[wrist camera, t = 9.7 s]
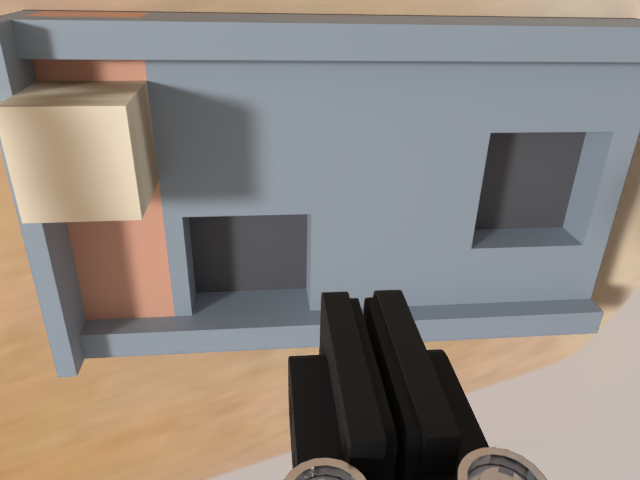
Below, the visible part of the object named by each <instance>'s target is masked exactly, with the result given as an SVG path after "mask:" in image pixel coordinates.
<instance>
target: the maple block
mask: <svg viewBox="0 0 640 480" xmlns="http://www.w3.org/2000/svg"><path fill="white" fill-rule="evenodd" d="M0 138H1V142H2V146H3V150H4V154H5V158H6V162H7V166H8V170H9V174H10V177H11V181H12V185H13V189H14V193H15V197H16V201H17V205H18V209H19V213H20V217H21V221H22V223H56V222H91V221H125V220H142V219H143V216H144V214H145V211H146V209H147V207H148V204H149V202H150V200H151V197H152V195H153V192H154V190H155V188H156V185H157V183H158V181H159V174H158V166H157V158H156V150H155V142H154V134H153V125H152V117H151V109H150V101H149V93H148V85H147V81H36V82H35V83H33V84H31V85H29V86H28V87H26V88H24V89H23V90H21V91H19V92H17V93H16V94H14V95H12V96H11V97H9V98H7V99H5V100H4V101H2V102H0Z"/></svg>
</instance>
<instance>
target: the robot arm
mask: <svg viewBox="0 0 640 480" xmlns="http://www.w3.org/2000/svg"><path fill="white" fill-rule="evenodd" d="M288 386H289V418H290V435H291V450H292V465H293V469H292V470H291V471H290V472H289V473H288V475H287V476H286V478H285V479H284V480H547V479H546V477H545V476H544V474H542V472H541V471H540V470H539V469H538V468H537V467H536V466H535V465H534V464H533V463H532V462H530V461H529V460H527V459H526V458H524V457H523V456H522V455H519V454H517V453H515V452H512V451H510V450H506V449H501V448H496V447H489V446H488V444H487V442H486V440H485V437H484V435H483V433H482V431H481V428H480V426H479V424H478V422H477V420H476V418H475V415H474V413H473V411H472V409H471V407H470V404H469V402H468V400H467V398H466V396H465V394H464V391H463V389H462V387H461V385H460V383H459V381H458V378H457V376H456V374H455V372H454V370H453V368H452V365H451V363H450V361H449V359H448V357H447V355H446V353H445V352H444V351H443V350H441V349H440V350H426V348H425V345H424V343H423V340H422V338H421V336H420V333H419V331H418V328H417V326H416V323H415V321H414V319H413V316H412V314H411V311H410V309H409V307H408V304H407V302H406V299H405V297H404V295H403V292H402V291H401V290H375V291H374V294H373V297H369V298H365V300H364V309H363V313H362V309H361V306H360V302H359V299H358V298H350V297H349V293H348V292H347V291H346V292H322V294H321V314H320V348H319V355H308V356H289V360H288Z"/></svg>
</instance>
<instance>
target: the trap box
mask: <svg viewBox="0 0 640 480" xmlns="http://www.w3.org/2000/svg"><path fill="white" fill-rule="evenodd" d="M36 81H147V85H148V93H149V101H150V109H151V117H152V125H153V134H154V142H155V150H156V158H157V166H158V174H159V181H158V183H157V185H156V188H155V190H154V192H153V195H152V197H151V200H150V202H149V204H148V207H147V209H146V211H145V214H144V216H143V219H142V220H125V221H91V222H56V223H22V221H21V217H20V213H19V209H18V205H17V201H16V197H15V193H14V189H13V185H12V181H11V177H10V174H9V170H8V166H7V162H6V158H5V154H4V150H3V146H2V142H1V138H0V148H1V152H2V156H3V160H4V164H5V168H6V172H7V176H8V180H9V184H10V188H11V192H12V196H13V200H14V204H15V208H16V212H17V216H18V220H19V224H20V228H21V232H22V236H23V240H24V244H25V248H26V252H27V256H28V260H29V264H30V268H31V272H32V276H33V280H34V284H35V288H36V292H37V296H38V300H39V304H40V308H41V312H42V316H43V320H44V324H45V328H46V332H47V336H48V340H49V344H50V348H51V352H52V356H53V360H54V364H55V368H56V372H57V376H58V377H73V376H77V375H78V373H79V370H80V368H81V366H82V363H83V361H84V359H85V358H105V357H125V356H145V355H166V354H186V353H206V352H226V351H247V350H267V349H287V348H307V347H320V314H321V294H322V292H346V291H347V292H348V293H349V297H350V298H358V299H359V302H360V306H361V309H362V313H363V309H364V300H365V298H369V297H373V294H374V291H375V290H401V291H402V292H403V295H404V297H405V299H406V302H407V304H408V307H409V309H410V311H411V314H412V316H413V319H414V321H415V323H416V326H417V328H418V331H419V333H420V336H421V338H422V340H423V342H428V341H449V340H469V339H489V338H509V337H529V336H550V335H570V334H590V333H598V329H599V326H600V323H601V320H602V316H603V313H604V312H603V311H602V310H601V309H600V308H599V307H598V306H597V304H596V303H595V302H594V301H593V300H592V299H591V296H592V292H593V289H594V286H595V282H596V279H597V275H598V272H599V269H600V265H601V262H602V258H603V255H604V251H605V248H606V245H607V241H608V238H609V234H610V231H611V228H612V224H613V221H614V217H615V214H616V210H617V207H618V204H619V200H620V197H621V193H622V190H623V187H624V183H625V180H626V176H627V173H628V169H629V166H630V163H631V159H632V156H633V152H634V149H635V146H636V142H637V139H638V135H639V132H640V19H636V18H574V17H503V16H431V15H360V14H289V13H217V12H146V11H74V10H22V11H18V12H14V13H9V14H5V15H1V16H0V102H2V101H4V100H5V99H7V98H9V97H11V96H12V95H14V94H16V93H17V92H19V91H21V90H23V89H24V88H26V87H28V86H29V85H31V84H33V83H35V82H36Z"/></svg>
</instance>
